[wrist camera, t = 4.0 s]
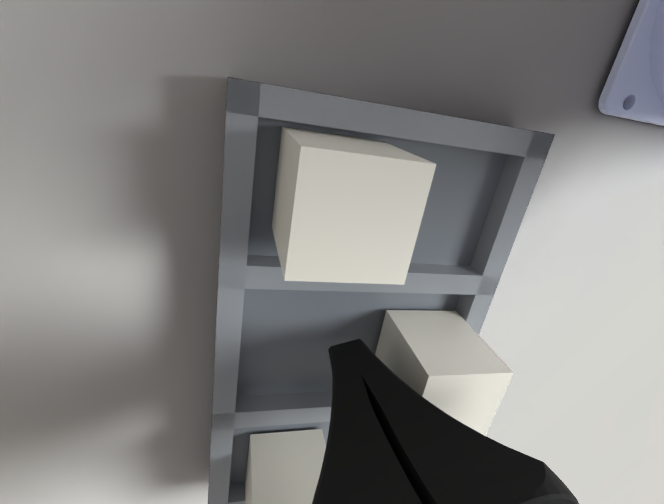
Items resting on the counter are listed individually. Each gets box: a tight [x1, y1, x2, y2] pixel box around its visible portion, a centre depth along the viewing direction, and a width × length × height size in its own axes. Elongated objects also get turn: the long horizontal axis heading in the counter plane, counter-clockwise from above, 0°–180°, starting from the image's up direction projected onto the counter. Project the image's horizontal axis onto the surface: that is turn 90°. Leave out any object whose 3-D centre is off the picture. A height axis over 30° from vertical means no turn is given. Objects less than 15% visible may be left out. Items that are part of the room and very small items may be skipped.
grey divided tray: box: [208, 77, 554, 504], centre depth 14 cm, size 10×17×2 cm, turn 171°
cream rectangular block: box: [375, 310, 514, 436], centre depth 13 cm, size 3×3×4 cm
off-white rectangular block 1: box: [245, 429, 326, 504], centre depth 14 cm, size 3×3×4 cm
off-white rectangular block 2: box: [272, 126, 437, 285], centre depth 10 cm, size 3×3×4 cm
